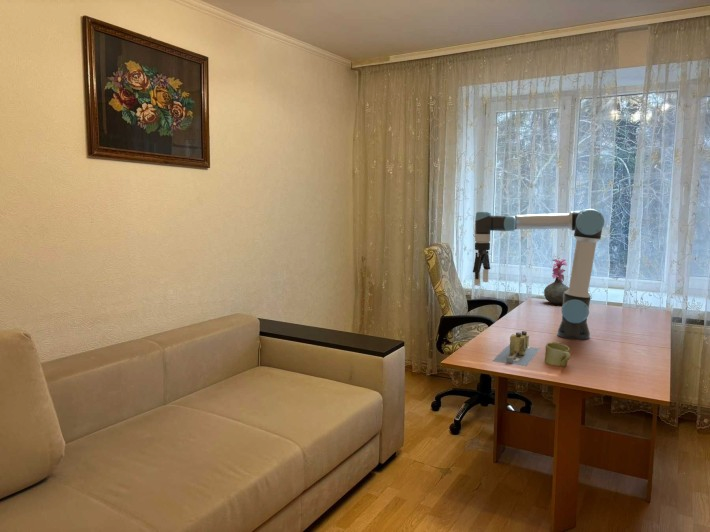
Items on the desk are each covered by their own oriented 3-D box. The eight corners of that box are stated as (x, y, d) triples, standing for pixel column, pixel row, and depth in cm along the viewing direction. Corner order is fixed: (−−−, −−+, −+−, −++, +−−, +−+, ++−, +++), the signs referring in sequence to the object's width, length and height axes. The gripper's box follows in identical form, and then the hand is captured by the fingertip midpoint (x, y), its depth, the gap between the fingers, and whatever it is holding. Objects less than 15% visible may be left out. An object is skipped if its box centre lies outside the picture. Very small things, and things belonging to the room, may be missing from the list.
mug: (536, 356, 225) (546, 336, 222) (557, 362, 226) (567, 343, 223) (546, 370, 213) (557, 349, 210) (569, 377, 215) (580, 356, 212)
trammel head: (525, 352, 233) (526, 332, 232) (523, 355, 229) (524, 335, 228) (512, 351, 236) (512, 331, 234) (509, 353, 232) (510, 333, 231)
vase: (546, 305, 344) (548, 260, 340) (541, 301, 361) (543, 257, 357) (573, 306, 341) (575, 261, 337) (567, 301, 358) (569, 258, 354)
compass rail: (528, 347, 243) (529, 331, 242) (514, 364, 218) (514, 346, 217) (519, 346, 245) (520, 330, 244) (504, 362, 220) (505, 345, 219)
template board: (540, 349, 242) (540, 347, 242) (526, 367, 215) (526, 365, 215) (509, 345, 249) (509, 343, 248) (492, 362, 222) (492, 360, 222)
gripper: (482, 240, 278) (481, 280, 281) (467, 243, 257) (466, 286, 259) (496, 240, 274) (495, 281, 277) (482, 244, 253) (481, 287, 256)
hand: (481, 283), depth 268 cm, fingers open, 13 cm apart
